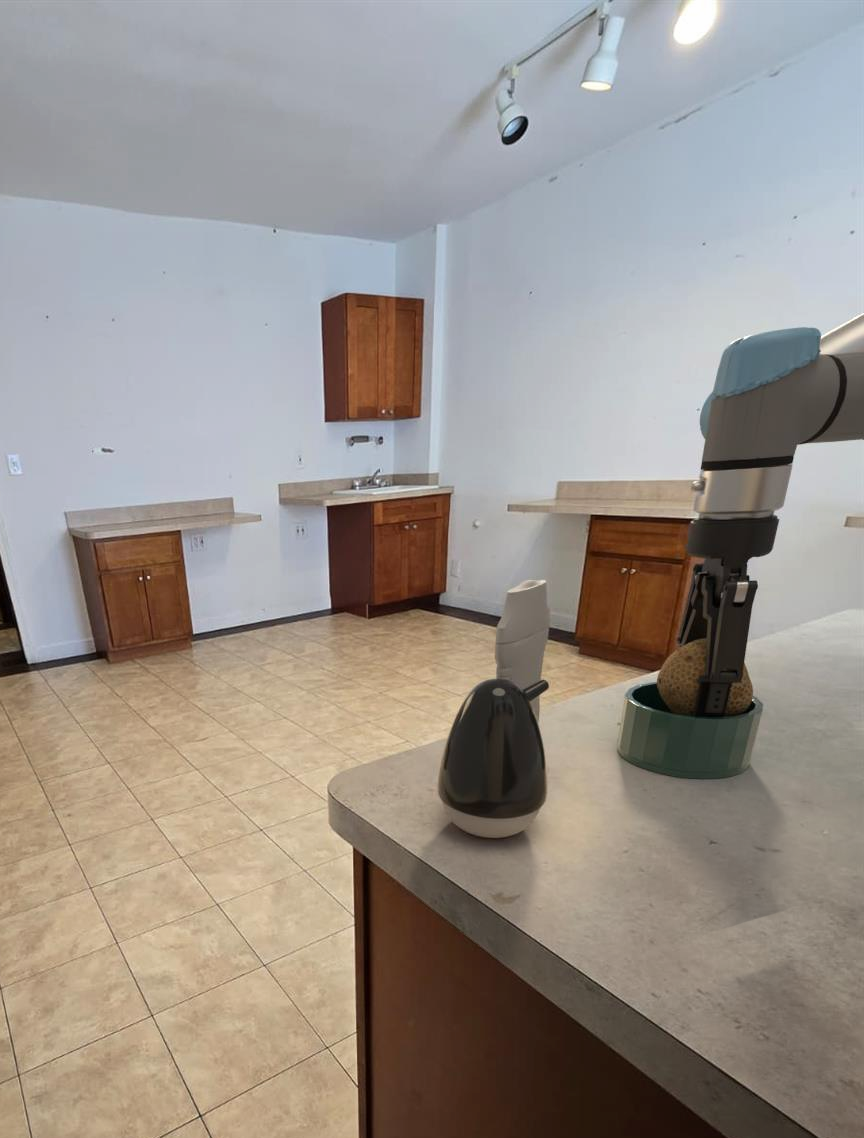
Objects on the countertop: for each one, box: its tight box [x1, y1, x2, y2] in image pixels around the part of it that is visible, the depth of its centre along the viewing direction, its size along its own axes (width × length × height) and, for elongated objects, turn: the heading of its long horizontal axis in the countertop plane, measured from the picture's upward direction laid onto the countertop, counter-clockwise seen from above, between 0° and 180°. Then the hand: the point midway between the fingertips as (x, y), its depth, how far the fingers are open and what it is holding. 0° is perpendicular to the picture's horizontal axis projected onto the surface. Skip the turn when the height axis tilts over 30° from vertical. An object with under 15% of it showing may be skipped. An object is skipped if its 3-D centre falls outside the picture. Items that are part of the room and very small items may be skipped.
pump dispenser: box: [437, 677, 550, 839], centre depth 61 cm, size 10×10×15 cm
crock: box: [616, 681, 764, 780], centre depth 74 cm, size 13×13×7 cm
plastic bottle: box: [494, 579, 551, 725], centre depth 69 cm, size 11×4×22 cm, turn 135°
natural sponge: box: [656, 638, 754, 717], centre depth 72 cm, size 9×9×10 cm
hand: (693, 721), depth 74 cm, fingers closed on natural sponge, 9 cm apart
